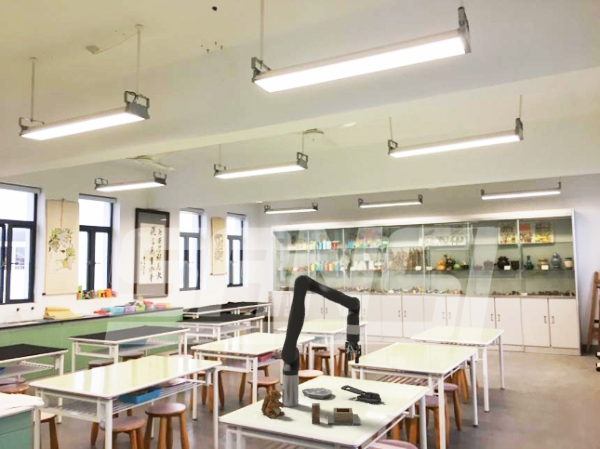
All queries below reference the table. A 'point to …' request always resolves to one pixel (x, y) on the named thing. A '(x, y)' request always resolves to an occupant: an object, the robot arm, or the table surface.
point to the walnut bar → (315, 413)
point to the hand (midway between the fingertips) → (353, 362)
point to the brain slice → (317, 393)
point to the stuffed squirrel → (272, 404)
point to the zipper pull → (364, 395)
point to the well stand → (343, 417)
